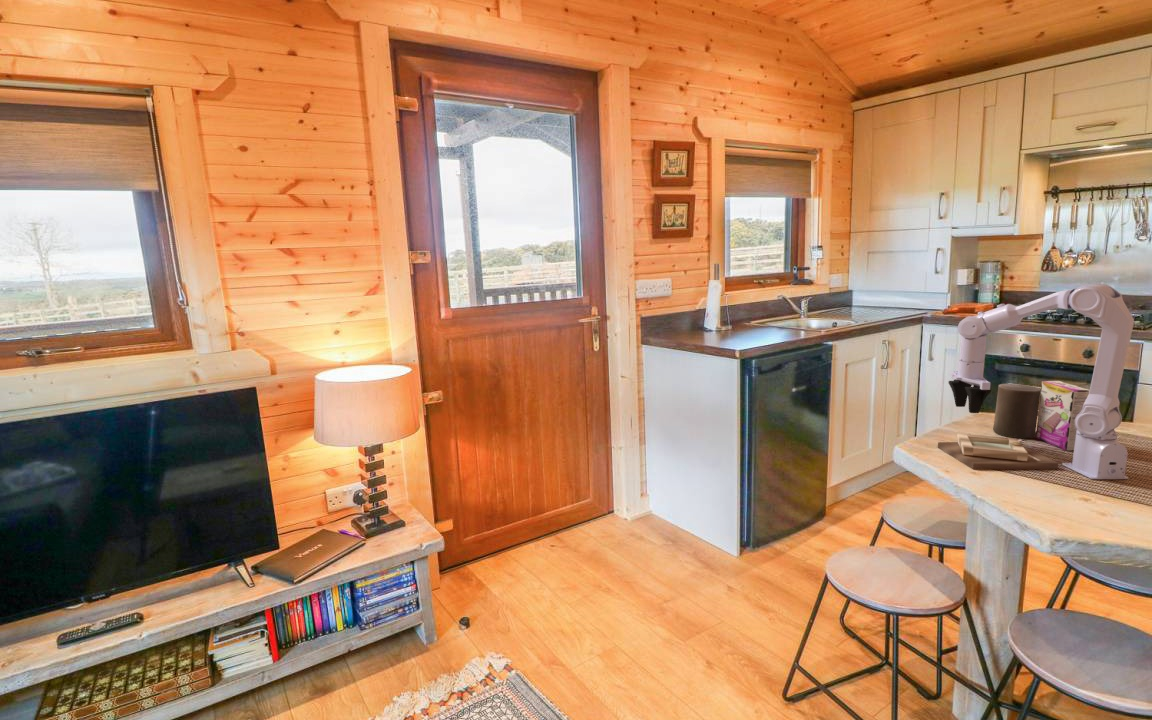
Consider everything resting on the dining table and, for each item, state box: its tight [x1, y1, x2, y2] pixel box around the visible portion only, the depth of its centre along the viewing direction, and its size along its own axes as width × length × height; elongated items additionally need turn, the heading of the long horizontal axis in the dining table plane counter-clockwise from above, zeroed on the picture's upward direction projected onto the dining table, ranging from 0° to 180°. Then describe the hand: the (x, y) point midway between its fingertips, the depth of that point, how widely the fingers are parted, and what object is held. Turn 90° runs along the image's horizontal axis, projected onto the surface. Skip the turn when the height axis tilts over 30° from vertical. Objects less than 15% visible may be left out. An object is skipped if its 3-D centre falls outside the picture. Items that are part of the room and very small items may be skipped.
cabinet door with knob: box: [956, 432, 1028, 461], centre depth 149 cm, size 12×13×2 cm
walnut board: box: [937, 441, 1059, 470], centre depth 149 cm, size 16×20×2 cm
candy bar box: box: [1035, 380, 1090, 452], centre depth 156 cm, size 11×5×16 cm, turn 178°
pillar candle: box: [992, 382, 1041, 440], centre depth 166 cm, size 10×10×15 cm
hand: (967, 409), depth 159 cm, fingers open, 6 cm apart
